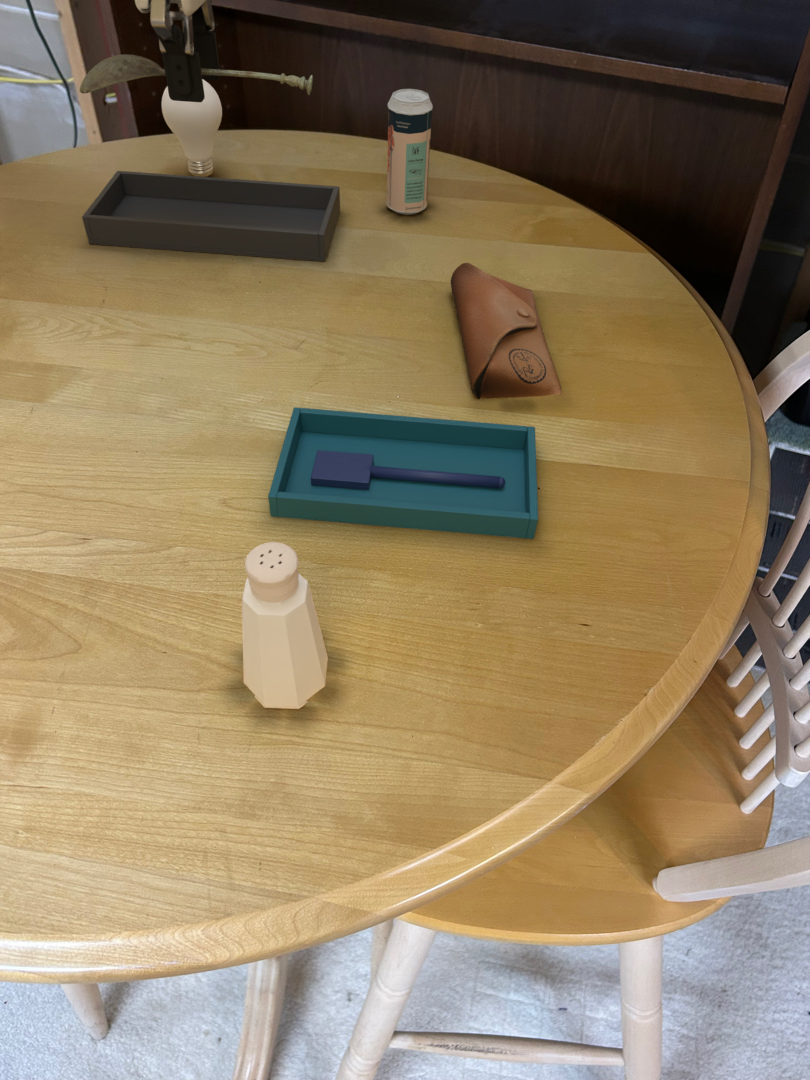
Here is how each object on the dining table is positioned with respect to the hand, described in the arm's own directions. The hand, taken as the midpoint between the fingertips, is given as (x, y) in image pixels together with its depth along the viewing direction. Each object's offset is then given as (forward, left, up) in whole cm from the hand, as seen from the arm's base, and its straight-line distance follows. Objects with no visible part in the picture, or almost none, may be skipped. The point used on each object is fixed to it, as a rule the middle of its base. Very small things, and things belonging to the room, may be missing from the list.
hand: (195, 86), depth 76 cm
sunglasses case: (+31, -16, -15) cm, 38 cm away
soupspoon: (0, 0, -1) cm, 1 cm away
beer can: (+20, +10, -15) cm, 27 cm away
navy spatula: (+24, -36, -14) cm, 46 cm away
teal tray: (+24, -36, -15) cm, 46 cm away
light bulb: (-5, +14, -15) cm, 21 cm away
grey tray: (0, +2, -15) cm, 15 cm away
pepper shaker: (+18, -54, -15) cm, 59 cm away
